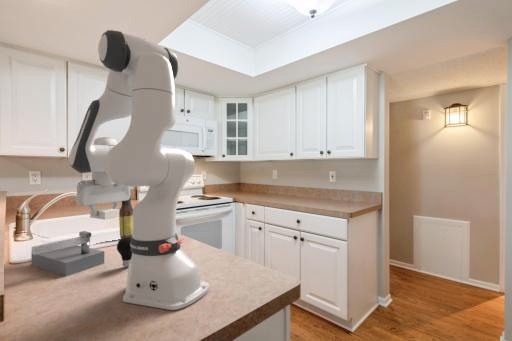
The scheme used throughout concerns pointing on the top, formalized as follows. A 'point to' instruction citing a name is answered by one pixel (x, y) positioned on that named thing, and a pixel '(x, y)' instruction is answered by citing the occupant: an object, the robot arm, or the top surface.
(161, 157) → the robot arm
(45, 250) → the t key
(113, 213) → the cover
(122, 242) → the light bulb
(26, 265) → the top surface
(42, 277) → the top surface
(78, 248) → the housing
